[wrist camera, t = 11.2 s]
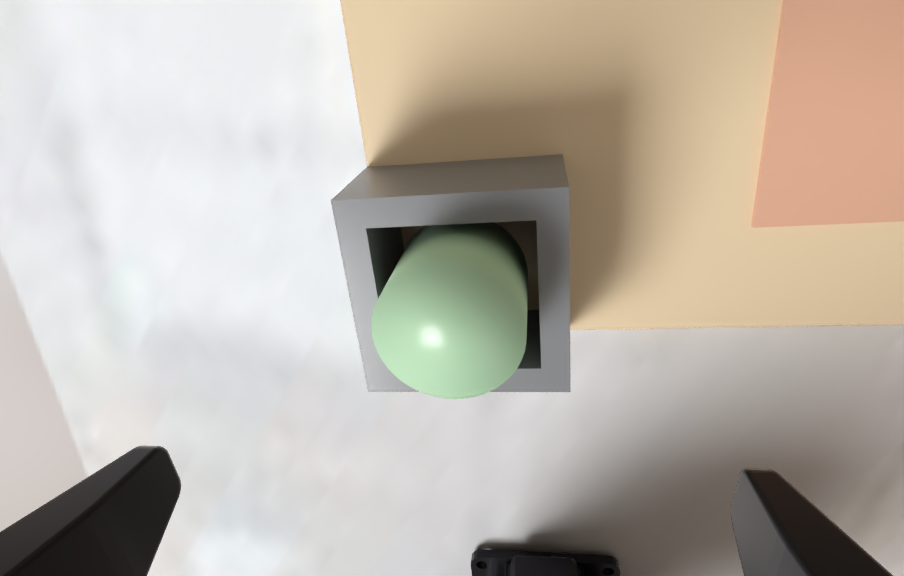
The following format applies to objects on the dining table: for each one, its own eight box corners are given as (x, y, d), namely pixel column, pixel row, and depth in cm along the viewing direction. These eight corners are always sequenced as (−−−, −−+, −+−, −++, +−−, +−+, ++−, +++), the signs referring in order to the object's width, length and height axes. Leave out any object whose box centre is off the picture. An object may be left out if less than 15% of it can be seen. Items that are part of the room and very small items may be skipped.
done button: (530, 329, 17) (529, 399, 14) (409, 331, 18) (383, 398, 15) (525, 210, 16) (523, 260, 12) (393, 217, 16) (360, 266, 13)
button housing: (564, 330, 19) (570, 391, 16) (394, 332, 20) (368, 391, 17) (562, 153, 16) (568, 187, 13) (367, 166, 17) (330, 200, 14)
